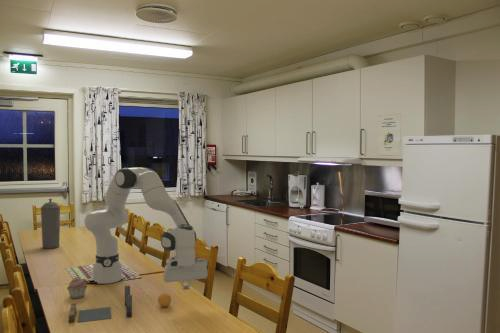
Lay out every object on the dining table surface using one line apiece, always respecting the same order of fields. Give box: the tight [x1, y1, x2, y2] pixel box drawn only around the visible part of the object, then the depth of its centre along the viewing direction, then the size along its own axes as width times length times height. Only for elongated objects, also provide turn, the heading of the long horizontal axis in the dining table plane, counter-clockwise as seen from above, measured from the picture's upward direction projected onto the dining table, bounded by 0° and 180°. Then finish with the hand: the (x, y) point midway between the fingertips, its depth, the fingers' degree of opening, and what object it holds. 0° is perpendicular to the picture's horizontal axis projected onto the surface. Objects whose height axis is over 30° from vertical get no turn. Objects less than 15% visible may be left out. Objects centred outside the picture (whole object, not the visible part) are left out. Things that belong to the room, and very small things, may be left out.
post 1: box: [124, 284, 131, 307], centre depth 193 cm, size 2×2×9 cm
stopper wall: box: [68, 303, 77, 324], centre depth 180 cm, size 14×2×3 cm, turn 19°
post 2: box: [125, 294, 133, 318], centre depth 181 cm, size 2×2×9 cm
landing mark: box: [77, 306, 112, 323], centre depth 183 cm, size 13×13×1 cm
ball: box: [157, 292, 172, 308], centre depth 192 cm, size 6×6×6 cm
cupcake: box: [66, 275, 88, 299], centre depth 204 cm, size 9×9×10 cm
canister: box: [40, 198, 61, 250], centre depth 301 cm, size 13×13×35 cm
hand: (185, 289), depth 195 cm, fingers closed
